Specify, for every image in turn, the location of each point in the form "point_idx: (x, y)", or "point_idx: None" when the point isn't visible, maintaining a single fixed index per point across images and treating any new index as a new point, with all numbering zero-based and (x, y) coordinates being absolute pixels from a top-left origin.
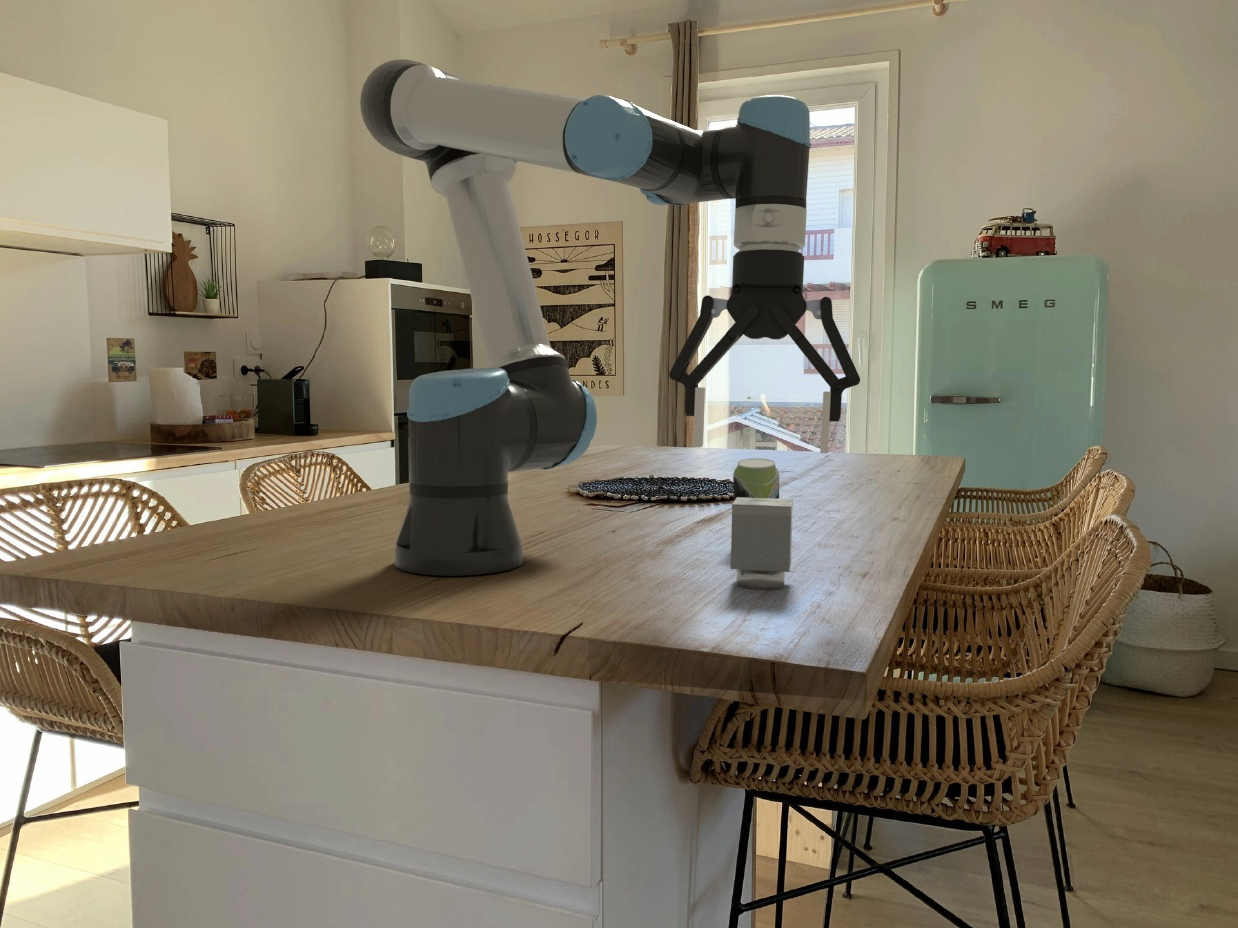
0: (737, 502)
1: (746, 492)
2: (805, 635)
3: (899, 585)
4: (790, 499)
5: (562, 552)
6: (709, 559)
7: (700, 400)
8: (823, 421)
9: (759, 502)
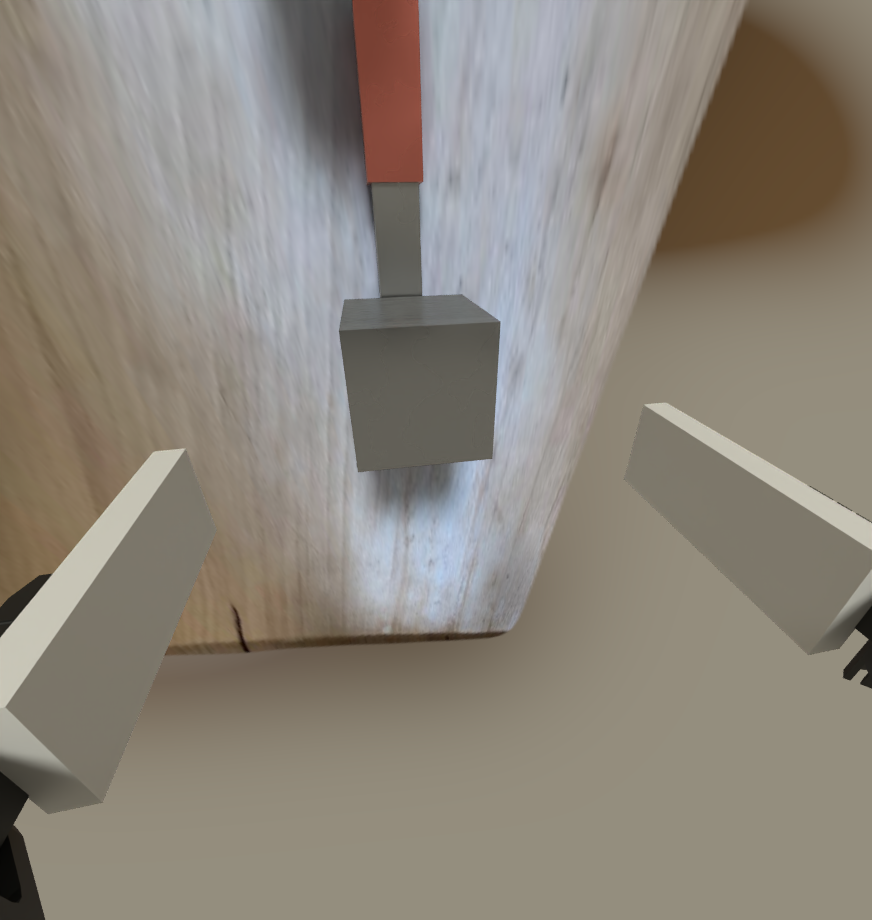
0: (364, 439)
1: None
2: (474, 568)
3: (642, 270)
4: (494, 328)
5: None
6: (217, 44)
7: (133, 714)
8: (701, 547)
9: (416, 420)
